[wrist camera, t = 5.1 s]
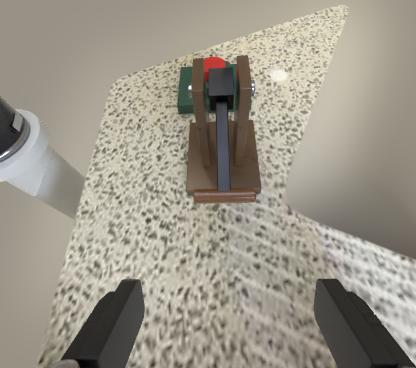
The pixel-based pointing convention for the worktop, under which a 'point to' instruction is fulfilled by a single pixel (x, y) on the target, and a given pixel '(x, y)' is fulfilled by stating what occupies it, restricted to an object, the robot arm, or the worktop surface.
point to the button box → (183, 97)
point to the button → (213, 64)
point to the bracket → (206, 134)
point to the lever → (222, 142)
